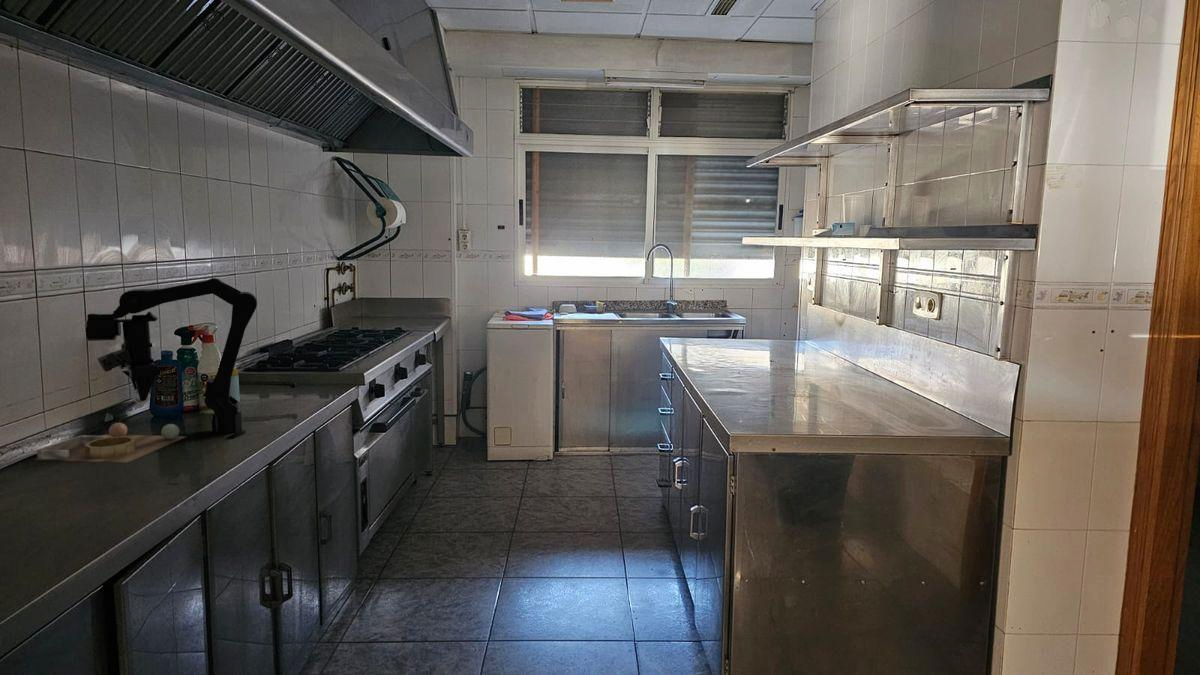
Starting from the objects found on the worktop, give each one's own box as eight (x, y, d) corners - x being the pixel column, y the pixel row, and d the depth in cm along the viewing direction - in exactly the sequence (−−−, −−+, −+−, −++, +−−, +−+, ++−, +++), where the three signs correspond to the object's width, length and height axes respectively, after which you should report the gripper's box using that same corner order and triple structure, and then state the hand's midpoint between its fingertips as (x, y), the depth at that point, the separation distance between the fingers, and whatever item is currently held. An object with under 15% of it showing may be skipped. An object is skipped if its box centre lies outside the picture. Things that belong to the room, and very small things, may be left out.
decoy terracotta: (131, 436, 191) (130, 421, 191) (120, 440, 187) (119, 425, 187) (117, 435, 192) (115, 420, 191) (105, 439, 188) (104, 424, 187)
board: (187, 440, 192) (186, 429, 191) (127, 467, 169) (126, 453, 169) (104, 438, 193) (103, 426, 193) (34, 464, 171) (33, 451, 170)
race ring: (145, 446, 182) (144, 436, 182) (116, 458, 172) (115, 448, 172) (106, 445, 182) (105, 435, 182) (75, 457, 173) (74, 447, 172)
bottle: (223, 409, 227) (220, 361, 225) (210, 406, 231) (207, 359, 229) (244, 405, 233) (241, 358, 231) (231, 402, 237) (229, 356, 235)
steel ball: (154, 401, 190) (153, 386, 189) (143, 405, 186) (142, 389, 185) (139, 401, 190) (138, 386, 189) (128, 404, 186) (127, 389, 185)
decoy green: (183, 437, 191) (182, 422, 190) (173, 441, 187) (172, 426, 186) (168, 437, 191) (167, 422, 190) (158, 441, 187) (157, 425, 186)
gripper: (93, 337, 187) (98, 397, 189) (105, 346, 173) (110, 410, 175) (143, 334, 195) (147, 391, 197) (158, 342, 181) (163, 404, 183)
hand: (141, 399), depth 188 cm, fingers closed on steel ball, 4 cm apart
